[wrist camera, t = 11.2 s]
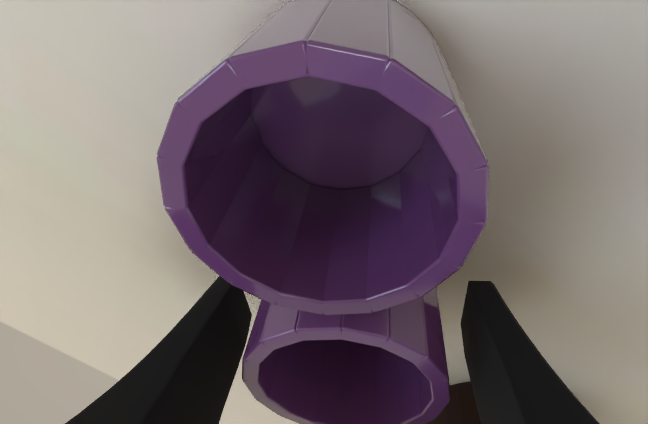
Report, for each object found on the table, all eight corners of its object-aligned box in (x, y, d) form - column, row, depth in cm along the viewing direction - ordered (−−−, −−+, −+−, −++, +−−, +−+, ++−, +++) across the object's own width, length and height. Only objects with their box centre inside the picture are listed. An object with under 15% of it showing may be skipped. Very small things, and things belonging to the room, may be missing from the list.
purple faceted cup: (380, 174, 11) (377, 301, 7) (458, 283, 13) (485, 419, 10) (249, 241, 13) (199, 362, 10) (335, 323, 16) (320, 445, 12)
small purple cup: (376, -75, 7) (368, -63, 4) (483, 133, 10) (540, 260, 6) (200, 75, 10) (93, 170, 6) (320, 214, 12) (293, 340, 9)
